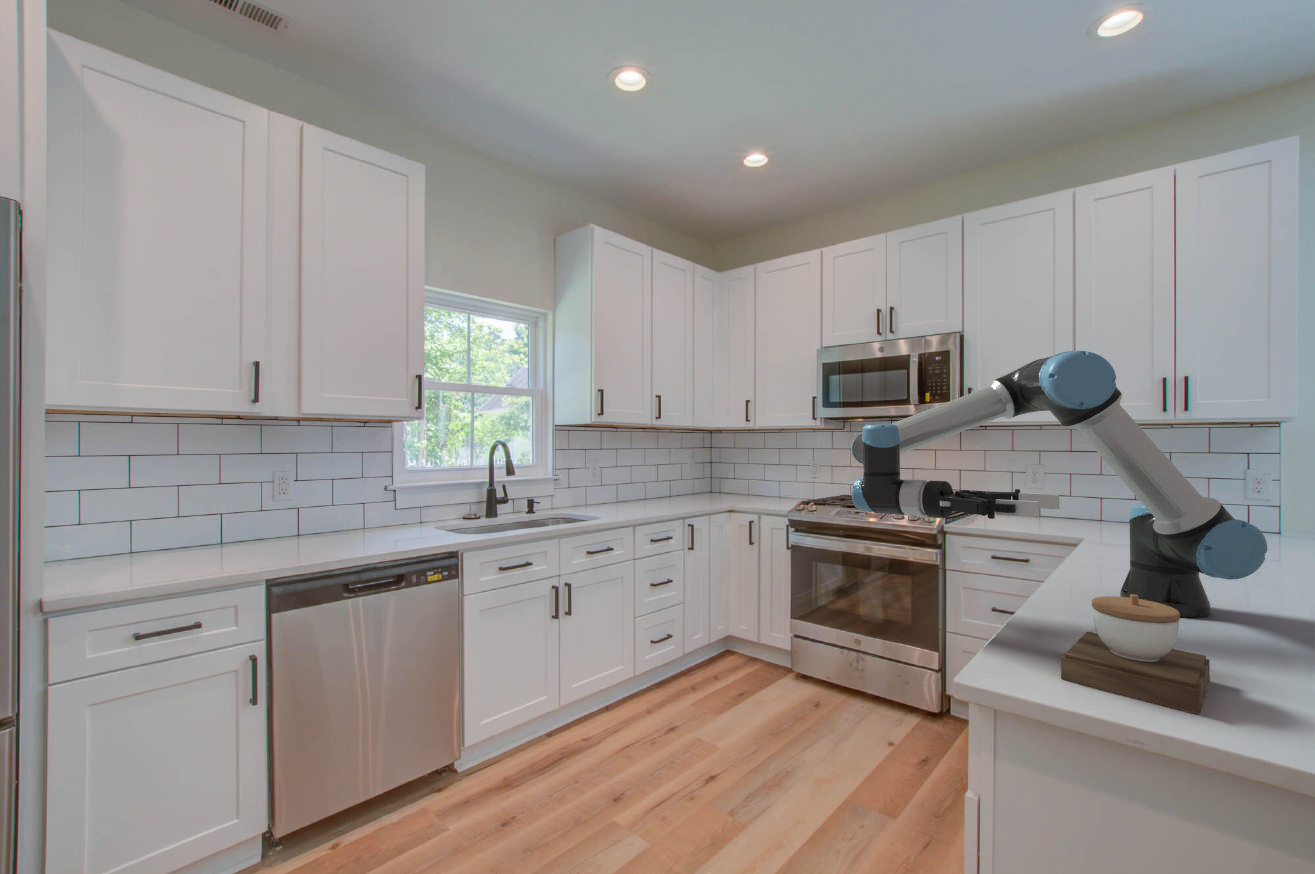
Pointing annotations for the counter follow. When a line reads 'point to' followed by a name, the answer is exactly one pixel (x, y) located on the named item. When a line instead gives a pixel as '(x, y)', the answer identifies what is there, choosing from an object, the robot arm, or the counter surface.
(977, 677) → the counter surface
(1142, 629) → the lidded jar
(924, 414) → the robot arm
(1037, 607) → the counter surface
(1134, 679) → the walnut stand
